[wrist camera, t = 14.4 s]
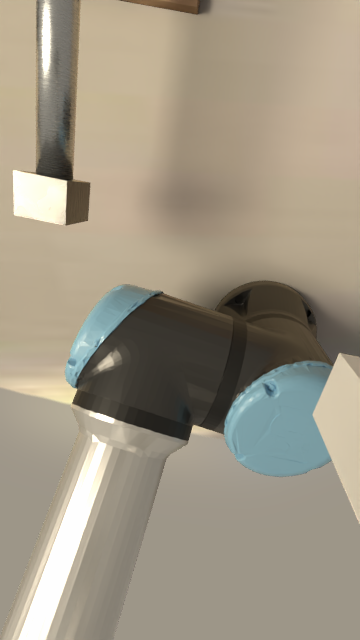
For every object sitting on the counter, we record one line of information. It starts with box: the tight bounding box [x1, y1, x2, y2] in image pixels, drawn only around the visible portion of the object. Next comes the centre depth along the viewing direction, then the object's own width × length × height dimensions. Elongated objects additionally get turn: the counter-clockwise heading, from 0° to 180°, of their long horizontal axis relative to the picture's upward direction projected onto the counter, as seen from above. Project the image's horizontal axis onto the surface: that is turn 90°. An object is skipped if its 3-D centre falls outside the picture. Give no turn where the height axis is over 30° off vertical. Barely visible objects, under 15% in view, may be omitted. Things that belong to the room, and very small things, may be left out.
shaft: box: [13, 0, 90, 225], centre depth 24 cm, size 4×26×5 cm, turn 170°
